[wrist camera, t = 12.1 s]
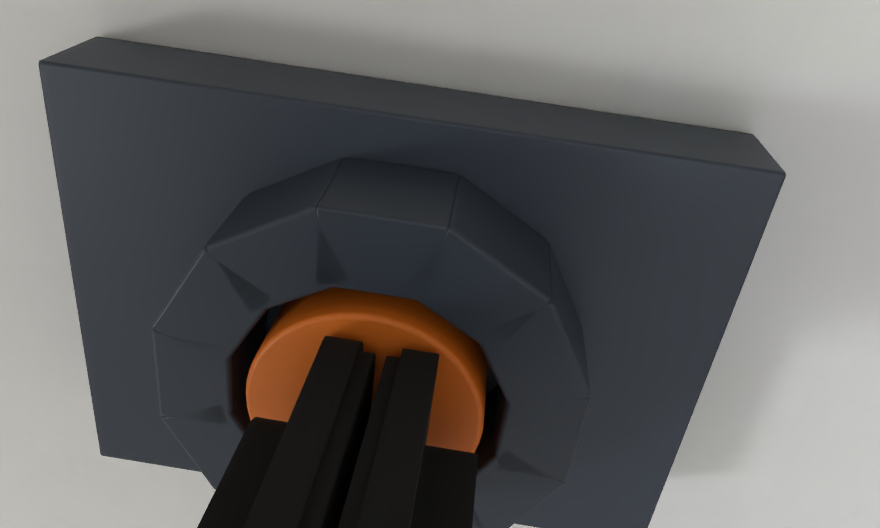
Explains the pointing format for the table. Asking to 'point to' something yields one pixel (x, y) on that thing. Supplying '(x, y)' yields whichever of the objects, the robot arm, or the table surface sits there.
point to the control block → (401, 257)
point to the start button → (385, 334)
